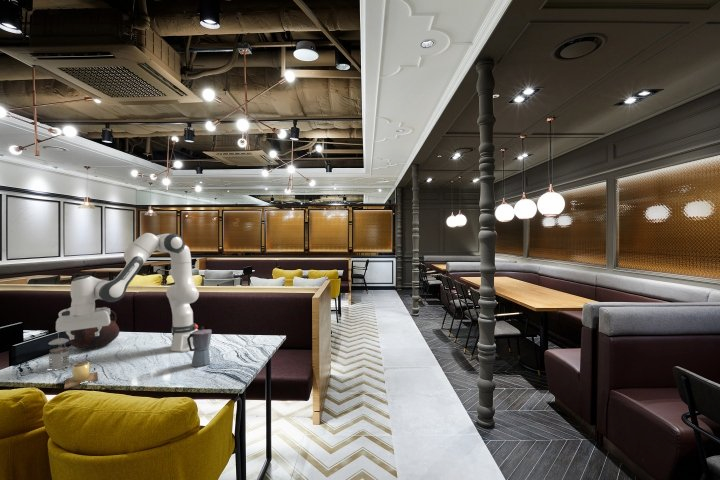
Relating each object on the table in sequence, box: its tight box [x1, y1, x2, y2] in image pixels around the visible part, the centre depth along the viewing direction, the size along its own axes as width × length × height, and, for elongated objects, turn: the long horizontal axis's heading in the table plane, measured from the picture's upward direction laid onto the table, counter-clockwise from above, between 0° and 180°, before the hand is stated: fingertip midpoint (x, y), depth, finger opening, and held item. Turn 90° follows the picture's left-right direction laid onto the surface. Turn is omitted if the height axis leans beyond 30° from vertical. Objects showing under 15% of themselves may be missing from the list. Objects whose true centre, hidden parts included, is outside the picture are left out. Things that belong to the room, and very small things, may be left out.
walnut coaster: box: [63, 371, 99, 389], centre depth 157 cm, size 12×12×1 cm
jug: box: [67, 309, 120, 350], centre depth 204 cm, size 25×25×25 cm
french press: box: [47, 332, 72, 370], centre depth 173 cm, size 10×12×25 cm
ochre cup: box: [72, 361, 91, 382], centre depth 156 cm, size 6×6×7 cm
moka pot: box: [187, 326, 213, 367], centre depth 174 cm, size 10×15×20 cm, turn 161°
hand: (84, 337), depth 158 cm, fingers open, 8 cm apart
